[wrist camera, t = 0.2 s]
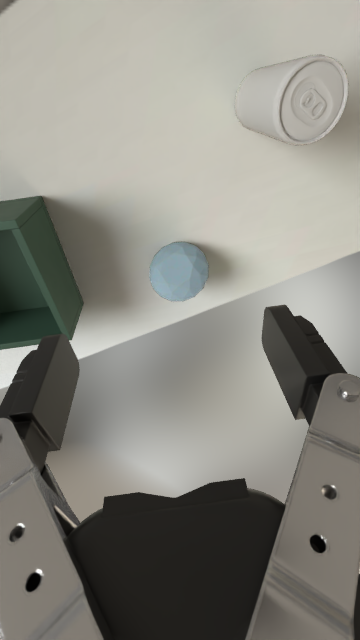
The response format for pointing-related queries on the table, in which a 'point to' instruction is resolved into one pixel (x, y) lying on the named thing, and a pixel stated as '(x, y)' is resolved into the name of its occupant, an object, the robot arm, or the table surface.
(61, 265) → the bin
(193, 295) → the gemstone
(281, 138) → the beverage can
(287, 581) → the robot arm
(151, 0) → the table surface
